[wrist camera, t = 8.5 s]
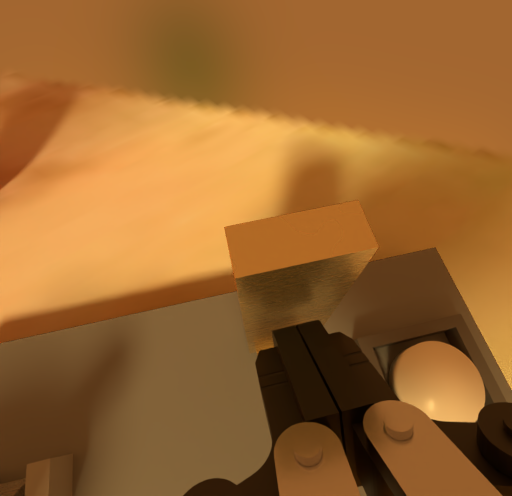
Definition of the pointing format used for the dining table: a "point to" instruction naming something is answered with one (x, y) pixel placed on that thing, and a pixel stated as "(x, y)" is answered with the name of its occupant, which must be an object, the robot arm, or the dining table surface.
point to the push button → (438, 382)
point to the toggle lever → (13, 488)
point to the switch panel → (196, 385)
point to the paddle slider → (297, 266)
